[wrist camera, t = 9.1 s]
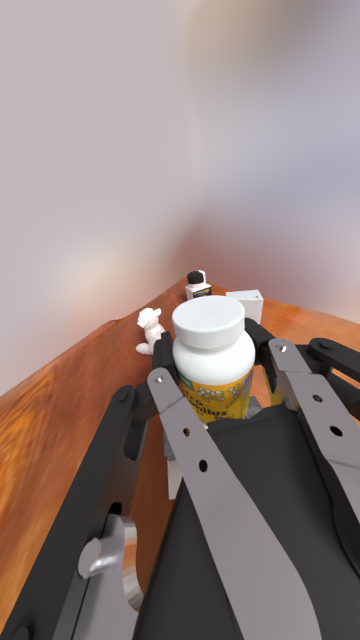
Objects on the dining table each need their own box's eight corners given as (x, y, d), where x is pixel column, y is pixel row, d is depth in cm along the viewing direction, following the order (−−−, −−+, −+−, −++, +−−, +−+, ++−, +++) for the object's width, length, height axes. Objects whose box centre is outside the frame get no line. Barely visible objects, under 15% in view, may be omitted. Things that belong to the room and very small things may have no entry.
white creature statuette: (163, 332, 40) (150, 296, 33) (183, 342, 34) (173, 301, 28) (136, 352, 34) (116, 314, 28) (156, 368, 29) (136, 325, 22)
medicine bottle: (195, 309, 47) (190, 276, 40) (187, 303, 53) (182, 273, 46) (212, 303, 48) (210, 270, 42) (203, 297, 54) (200, 267, 48)
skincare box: (252, 336, 31) (259, 289, 24) (256, 350, 28) (264, 299, 21) (225, 335, 33) (225, 291, 26) (225, 348, 30) (225, 301, 23)
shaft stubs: (169, 461, 16) (163, 456, 14) (167, 425, 19) (162, 418, 17) (270, 434, 16) (274, 427, 15) (252, 403, 19) (254, 395, 18)
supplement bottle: (254, 387, 12) (271, 293, 7) (236, 451, 9) (245, 361, 4) (203, 365, 16) (192, 288, 11) (177, 407, 12) (141, 325, 7)
